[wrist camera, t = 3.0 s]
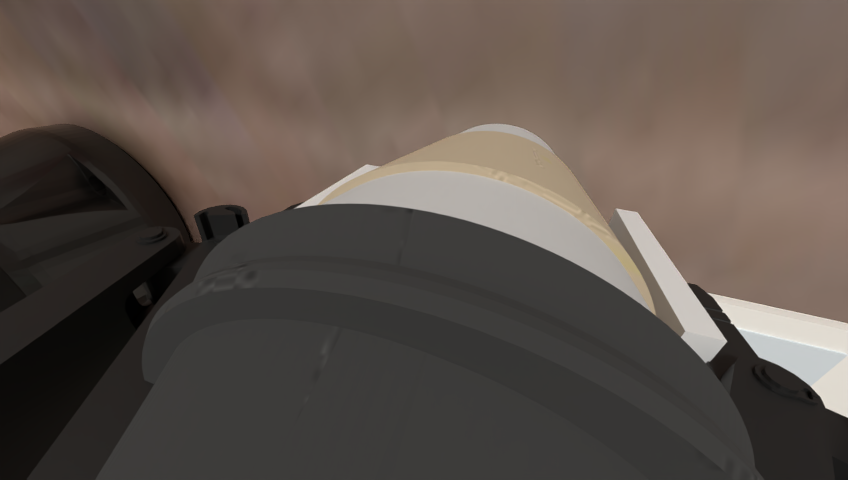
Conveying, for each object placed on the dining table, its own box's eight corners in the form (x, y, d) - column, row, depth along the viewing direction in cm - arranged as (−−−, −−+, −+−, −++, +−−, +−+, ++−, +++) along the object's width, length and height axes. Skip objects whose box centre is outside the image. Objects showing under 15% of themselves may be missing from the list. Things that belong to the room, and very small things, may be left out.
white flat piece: (534, 402, 22) (534, 411, 22) (594, 268, 16) (597, 275, 15) (765, 475, 19) (773, 488, 19) (950, 345, 13) (970, 358, 12)
